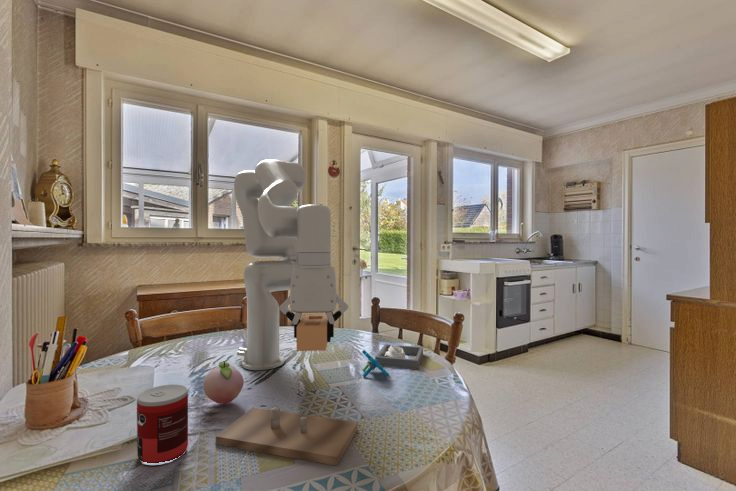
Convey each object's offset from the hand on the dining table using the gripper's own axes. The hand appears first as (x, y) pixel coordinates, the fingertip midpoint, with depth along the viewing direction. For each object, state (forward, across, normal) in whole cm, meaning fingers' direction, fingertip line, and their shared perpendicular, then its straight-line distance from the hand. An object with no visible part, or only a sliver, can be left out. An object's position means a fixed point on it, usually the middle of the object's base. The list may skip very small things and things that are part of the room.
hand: (314, 339), depth 80 cm
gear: (+16, +15, +20) cm, 29 cm away
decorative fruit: (+16, -21, +3) cm, 27 cm away
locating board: (+16, -4, -11) cm, 20 cm away
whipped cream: (+16, +23, +33) cm, 43 cm away
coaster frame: (+16, +24, +33) cm, 43 cm away
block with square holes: (+1, 0, 0) cm, 1 cm away
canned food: (+16, -25, -16) cm, 34 cm away
